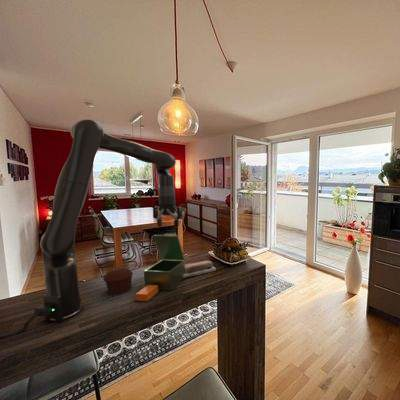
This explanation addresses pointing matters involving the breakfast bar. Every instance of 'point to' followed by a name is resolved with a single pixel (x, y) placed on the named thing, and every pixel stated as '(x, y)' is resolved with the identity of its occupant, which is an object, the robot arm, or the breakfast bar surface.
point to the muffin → (118, 280)
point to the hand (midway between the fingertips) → (168, 227)
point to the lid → (169, 246)
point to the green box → (165, 274)
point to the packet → (147, 293)
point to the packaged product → (198, 268)
